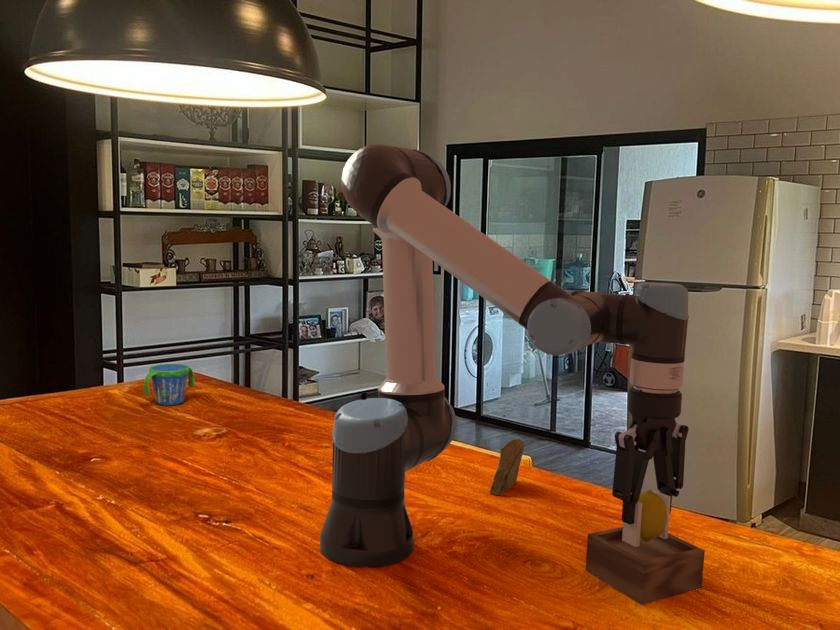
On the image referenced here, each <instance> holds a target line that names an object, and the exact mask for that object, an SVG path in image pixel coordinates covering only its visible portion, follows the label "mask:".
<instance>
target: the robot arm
mask: <svg viewBox="0 0 840 630" xmlns="http://www.w3.org/2000/svg"><path fill="white" fill-rule="evenodd" d="M340 179H341V180H340V183H341V184H340V185H341V189H342V194H343V197H344V199H345V201H346V202H347V203H348V205H349V206H350V208H351V209H352V210H353V211H354V212H355V213H357V215H359V216H360V217H361V218H362V219H364V220H365V221H367V222H368V223H369V224H371V225H372V231H373V232H374V233H375V234H376V235H377V236H378V237H379V238H380V240H381V245H382V246H381V247H382V252H381V253H382V280H383V281H382V282H383V283H382V285H383V311H384V312H383V313H384V314H383V316H384V317H383V318H384V344H385V345H384V347H385V348H384V349H385V375H386V376H385V379H384V381H382V382H381V384H380V385H378V387H377V397H369V398H366V399H357V400H353V401H350V402H348V403H346V404H344V405H341V407H340V408H339V409H338V410H337V411H336V413H335V415H334V419H333V428H332V432H331V440H332V467H331V468H332V475H331V476H332V477H331V503H330V505H329V508H328V511H327V513H326V516H325V519H324V522H323V526H322V529H321V530H320V534H319V549H320V552H321V554H322V555H323V556H324V557H325V558H327V559H329V560H331V561H333V562H335V563H338V564H342V565H346V566H354V567H360V568H361V567H365V568H366V567H368V568H370V567H381V566H382V567H383V566H387V565H388V566H389V565H392V564H395V563H398V562H401V561H403V560H405V559H407V558H408V557H409V556H410V555H412V553H413V552H414V544H415V542H414V541H415V540H414V539H415V536H414V535H415V534H414V530H413V527H412V524H411V519H410V518H409V514H408V510H407V507H406V503H405V488H406V483H405V482H406V472H408V471H410V470H412V469H414V468H416V467H418V466H420V465H421V464H423V463H425V462H430V461H432V460H434V459H435V458H436V457H438V456H439V455H440V454H442V453H443V451H446V449H447V448H448V447H449V446H450V444H451V443H452V441H453V439H454V437H455V433H456V429H457V418H456V414H455V410H454V408H453V406H452V404H450V403H449V401H448V399H447V398H446V393H445V392H446V391H445V385H444V383H442V382H441V381H440V380H439V379H438V378H437V377H436V345H435V342H436V341H435V339H436V338H435V310H434V309H435V305H434V304H435V301H434V300H435V299H434V297H435V296H434V276H433V275H434V271H433V270H434V267H433V264H434V263H435V264H436V265H438V266H439V267H441V268H442V269H443V270H445V271H446V272H448V273H449V274H450V275H452V276H453V277H455V278H456V279H457V280H459V282H461V283H463V284H464V285H465V286H466V287H468V288H469V289H470V290H472V291H473V292H475V293H476V294H477V295H479V296H480V297H481V298H483V299H484V300H486V301H487V302H488V303H490V304H491V305H493V306H494V307H496V308H497V309H498V310H500V312H502V313H504V314H505V315H506V316H508V317H509V318H510V319H512V320H513V321H514V322H516V323H517V324H518V325H520V326H521V327H523V328H524V329H526V331H527V335H528V336H529V339H530V341H531V343H532V345H534V347H535V348H536V349H538V350H539V351H540V352H542V353H544V354H547V355H549V356H563V355H569V354H573V353H575V352H578V351H580V350H581V349H582V348H584V347H588V346H591V345H593V344H595V343H602V344H615V345H616V344H617V345H622V346H624V345H625V346H627V345H628V346H630V347H631V355H630V356H631V357H630V367H629V368H630V369H629V383H630V384H631V385H632V386H631V387H630V388H629V389H628V402H627V410H628V412H629V413H630V414H631V421H630V423H629V426H628V429H627V430H625V431H624V432H621V431H616V432H615V434H614V440H615V447H616V450H615V458H614V459H615V460H614V471H613V480H612V481H613V482H612V491H611V494H612V495H611V496H612V497H613V498H615V499H618V500H621V501H622V506H621V507H622V508H621V522H622V527H623V533H622V541H624V542H626V543H628V544H630V545H633V546H635V547H638V546H639V545H640V531H641V516H642V503H640V502H638V500H639V497H640V493H641V492H642V490H643V489H642V488H643V485H644V481H645V478H646V473H647V470H648V465H649V463H650V460H652V459H653V465H654V472H655V473H654V474H655V482H656V487H657V490H656V491H652V492H653V493H656V494H657V495H659V496H660V497H661V498H662V500H663V501H664V503H665V506H666V510H667V523H666V527H665V529H664V531H663V532H662V534H661V535H659V537H661V538H663V539H666V538H668V533H669V526H670V525H669V524H670V515H671V512H672V502H673V501H672V500H673V497H675V498H676V497H678V496H679V495H680V490H681V489H682V488H684V482H685V481H684V480H685V479H684V478H685V476H684V475H685V460H686V459H685V458H686V456H685V455H686V441H687V437H688V433H689V426H688V425H685V424H682V423H678V422H676V419H677V418H679V417H680V415H681V413H682V401H683V393H681V390H680V389H681V388H683V385H684V384H683V382H684V369H685V368H684V367H685V366H684V365H685V359H686V358H685V356H686V345H687V335H688V326H689V317H690V316H689V291H688V289H687V288H686V287H685V286H684V285H682V284H679V283H672V282H653V281H652V282H651V281H648V282H647V281H644V282H643V281H642V282H639V283H637V285H636V286H635V291H634V293H633V294H618V293H609V292H607V293H606V292H600V291H599V292H596V291H587V290H584V289H583V290H582V289H578V290H566V289H565V290H564V289H563V288H562V287H560V286H558V285H557V284H556V283H554V282H552V280H551V279H549V278H547V277H546V276H545V275H543V274H542V273H541V272H540V271H537V269H535V268H533V267H532V266H531V265H529V264H528V263H526V262H524V261H523V260H522V259H520V258H519V257H518V256H516V255H515V254H513V253H512V252H510V251H509V250H507V249H506V247H503V246H502V245H501V244H499V243H498V242H496V241H495V240H493V239H492V238H491V237H489V236H488V235H486V234H485V233H483V232H482V231H480V230H479V229H478V228H476V227H475V226H473V225H472V224H470V223H469V222H468V221H467V220H465V219H463V218H462V217H460V216H459V215H458V214H456V213H455V212H453V211H452V210H451V209H449V208H448V207H447V206H448V203H449V201H450V197H451V191H452V189H451V188H452V186H451V179H450V175H449V174H448V172H447V169H446V167H445V166H444V165H443V164H442V163H441V161H440V160H438V159H437V158H435V157H434V156H432V155H430V154H428V153H426V152H425V151H422V150H418V149H414V148H413V149H410V148H406V147H405V148H404V147H398V146H391V145H388V144H383V143H375V144H374V143H373V144H369V145H365V146H363V147H361V148H359V149H358V150H356V151H355V152H353V154H351V155H350V156H349V158H348V159H347V161H346V163H345V164H344V166H343V168H342V173H341V178H340ZM433 262H434V263H433Z"/></svg>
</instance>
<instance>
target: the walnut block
mask: <svg viewBox="0 0 840 630" xmlns="http://www.w3.org/2000/svg"><path fill="white" fill-rule="evenodd" d="M622 533H623V526H620V527H615V528H611V529H606V530H601V531H597V532H591V533H588V534H587V538H586V539H587V540H586V557H585V572H587V573H589V574H590V575H592V576H593V577H595V578H597V579H598V580H600V581H602V582H603V583H604V584H607V585H608V586H610V587H611V588H613V589H615V590H616V591H618V592H619V593H621V594H622V595H625V597H627V598H628V599H631V600H632V601H634V602H635V603H638V604H639V605H640V606H642V605H646V604H650V603H654V602H657V601H662V600H665V599H669V598H672V597H675V596H680V595H683V594H687V593H691V592H694V591H693V590H695V591H697V590H696V589H698V590H700V589H699V588H702V586H703V577H704V575H703V574H704V563H705V549H702V548H700V547H698V546H696V545H694V544H692V543H690V542H687V541H686V540H683V539H682V538H681V537H680V538H679V537H678V536H675V535H673V534H671V533H669V532H668V538H666V539H663V538H661V537H659V536H658V537H656V538H653V539H651V540H650V541H648V542H645V541H644V540H643V539H642V538H641V537H640V545H639V546H638V547H635V546H633V545H630V544H628V543H626V542H624V541H622ZM690 591H691V592H690Z"/></svg>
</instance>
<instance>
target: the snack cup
mask: <svg viewBox="0 0 840 630" xmlns="http://www.w3.org/2000/svg"><path fill="white" fill-rule="evenodd" d="M150 380H151V382H152V389H153V395H154V400H155V403H156V404H157V405H159V406H160V405H161V406H176V405H180V404H183V403H184V401H185V396H186V387H187V386H188V387H189V388H194V387H195V383H196V381H195V380H196V379H195V375H194V371H193V369H192V368H191V367H189V366H188V365H186V364H182V363H181V364H180V363H164V364H162V363H161V364H157V365H153V366H150V367H149V371H148V373H147V374H146V376H145V378H144V381H143V385H142V386H143V387H142V391H143V395H145V396H146V397H149V396H150V395H151V391H150V385H149V384H150V383H149V382H150Z"/></svg>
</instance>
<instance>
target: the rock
mask: <svg viewBox="0 0 840 630" xmlns="http://www.w3.org/2000/svg"><path fill="white" fill-rule="evenodd" d="M524 449H525V443H524V442H523V440H521V439H520V438H514V439H511V440H510V441H509V442H508V443H506V444H505V445H504V446H503V447H501V448H500V450H499V452H500V453H499V459H498V461H497V462H498V463H497V466H496V469H495V474H494V475H493V479H492V483H491V486H490V489H489V490H488V491H489V493H490V494H492V495H495V496H501V495H502V494H504V493H505V492H506V491H508V489H510V488H512V486H513V485H516V483H517V480H518V476H519V472H520V465H521V460H522V457H523V455H524V454H523V453H524Z"/></svg>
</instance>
